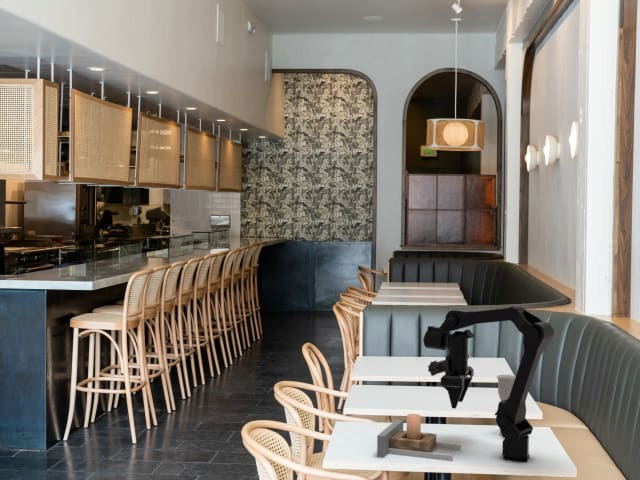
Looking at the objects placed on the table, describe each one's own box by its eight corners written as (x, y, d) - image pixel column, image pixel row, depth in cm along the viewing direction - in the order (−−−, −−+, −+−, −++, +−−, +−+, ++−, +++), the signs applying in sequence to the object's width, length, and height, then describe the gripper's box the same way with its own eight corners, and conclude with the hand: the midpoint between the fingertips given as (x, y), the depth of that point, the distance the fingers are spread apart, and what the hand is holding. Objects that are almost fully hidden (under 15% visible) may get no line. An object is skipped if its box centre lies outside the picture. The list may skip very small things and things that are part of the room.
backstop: (463, 446, 237) (463, 425, 236) (449, 465, 218) (449, 443, 218) (396, 439, 244) (396, 419, 244) (377, 456, 225) (377, 435, 225)
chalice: (523, 436, 248) (524, 378, 247) (504, 438, 245) (505, 379, 245) (509, 430, 254) (510, 374, 254) (491, 432, 252) (492, 375, 251)
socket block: (436, 447, 234) (436, 434, 234) (428, 457, 225) (428, 442, 225) (399, 443, 238) (399, 430, 238) (390, 452, 229) (390, 438, 229)
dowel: (421, 445, 233) (422, 414, 233) (418, 449, 229) (418, 418, 229) (408, 444, 234) (408, 413, 234) (404, 447, 231) (405, 416, 230)
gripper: (438, 345, 248) (437, 396, 249) (423, 355, 231) (422, 409, 231) (474, 348, 244) (473, 399, 245) (462, 357, 227) (461, 412, 227)
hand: (457, 404), depth 237 cm, fingers open, 9 cm apart
